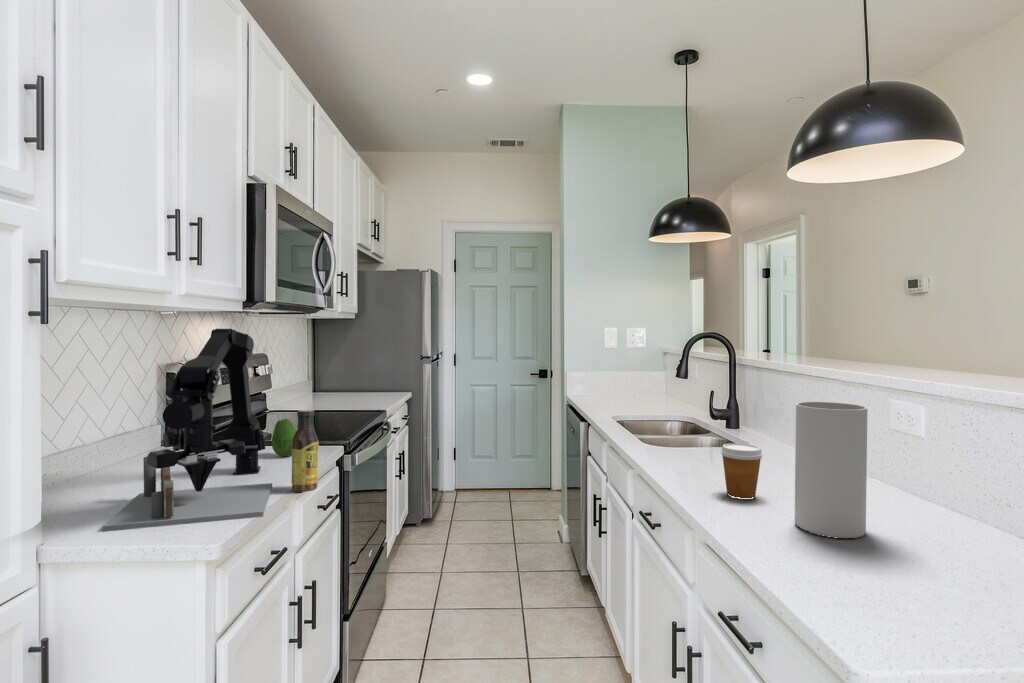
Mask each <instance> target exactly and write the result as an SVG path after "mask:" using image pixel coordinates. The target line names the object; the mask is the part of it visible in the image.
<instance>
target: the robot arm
mask: <svg viewBox="0 0 1024 683" xmlns="http://www.w3.org/2000/svg"><path fill="white" fill-rule="evenodd" d="M254 345H255V344H254V339H253V338H252V336H250V335H249V334H247V333H243V332H239V331H237V330H236V329H233V328H214V329H211V333H210V337H209V339H208V340H207V342H206V343H205V344H204V346H203V348H202V349H201V350H200V352H198V353H199V354H198V355H196V356H197V357H195V358H193V359H192V358H191V359H190V360H188V361H185V363H184V364H182V366H181V367H180V368H179V370H178V371H177V372H176V375H175V378H174V381H173V385H172V388H171V391H170V395H169V397H170V398H171V399H172V402H170V403H169V404H168V405H166V406H165V408H164V409H163V412H162V421H163V422H164V424H165V425H166V426H167V427H168V428H170V429H172V430H173V431H166V432H164V433H163V435H162V436H163V437H162V441H163V447H165V449H159V450H154V451H153V450H152V451H150V452H149V453H148V454H147V456H146V457H147V465H149V466H151V467H154V468H156V469H161V468H166V467H170V468H171V467H175V466H176V465H179V466H181V467H183V468H184V469H185V471H186V472H187V474H188V476H189V478H190V481H191V483H192V485H193V487H194V488H193V489H195V490H196V491H197V492H199V491H202V489H203V488H205V487H204V486H205V485H206V482H207V480H208V479H209V476H210V474H211V473H212V471H213V469H214V468H215V466H216V465H217V463H218V462H219V463H220V462H221V458H219V457H218V454H224V453H229V454H230V455H232V456H235V468H234V470H233V472H232V475H243V474H244V475H247V474H258V473H260V470H261V468H262V466H261V465H259V451H263V450H266V438H265V436H264V433H263V430H262V429H261V427H260V421H259V420H258V419H257V417H256V416H255V415H254V414H253V411H252V404H251V394H250V393H251V392H250V383H249V382H250V381H249V373H248V363H249V361H250V359H251V358H252V356H253V350H254ZM221 363H223V364H224V366H225V368H227V373H228V382H229V392H230V401H231V410H232V419H231V422H230V424H229V425H228V427H227V429H226V439H223V440H218V441H217V443H214V441H213V440H214V438H213V437H214V436H213V435H214V431H216V425H214V423H213V417H214V416H213V414H214V413H213V411H214V410H213V409H214V408H213V399H214V398H215V395H214V394H215V393H216V390H217V387H218V386H219V385H218V384H219V382H220V379H221V378H220V374H219V372H218V369H219V366H220V365H221ZM174 430H179V433H176V431H174ZM169 448H172V449H169Z"/></svg>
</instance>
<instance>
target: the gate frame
mask: <svg viewBox="0 0 1024 683" xmlns="http://www.w3.org/2000/svg"><path fill="white" fill-rule="evenodd" d="M272 489H273V483H272V482H266V483H256V484H255V483H253V484H242V485H241V484H240V485H229V486H228V485H227V486H226V485H225V486H216V487H215V486H214V487H203V489H202V491H199V492H197V491H196V490H195V488H191V489H190V488H187V489H177V490H176V489H175V490H174V489H173V497H174V516H172V517H165V518H164V491H161V490H159V491H157V468H154V467H151V466H149V465H147V456H144V457H143V492H139V494H137V495H136V496H135V497H134V498H133V499H132V500H130V501H129V502H128V503H127V504H126V505H125V506H124V507H123V508H121V509H120V510H119V511H118V512H117V513H116V514H114V516H112V517H111V518H110V519H109V520H108V521H107V522H106V523H104V525H102V532H110V531H122V530H132V529H134V530H135V529H142V528H143V529H144V528H153V527H162V526H163V527H164V526H175V525H183V524H184V525H185V524H187V525H188V524H197V523H209V522H218V521H226V520H227V521H229V520H236V519H237V520H238V519H240V520H241V519H249V518H258V517H264V514H265V511H266V508H267V504H268V503H269V499H270V496H271V491H272Z"/></svg>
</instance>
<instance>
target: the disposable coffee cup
mask: <svg viewBox="0 0 1024 683" xmlns="http://www.w3.org/2000/svg"><path fill="white" fill-rule="evenodd" d="M720 453H721V455H722V464H723V470H724V479H725V487H726V495H727V494H729V495H731V496H734V497H740V498H752V497H755V498H756V493H757V487H758V480H759V472H760V466H761V459H762V457H763V455H764V453H763V451H762V448H761V447H760V446H757V445H753V444H747V443H724V444H723V445H722V447H721V449H720Z"/></svg>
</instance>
